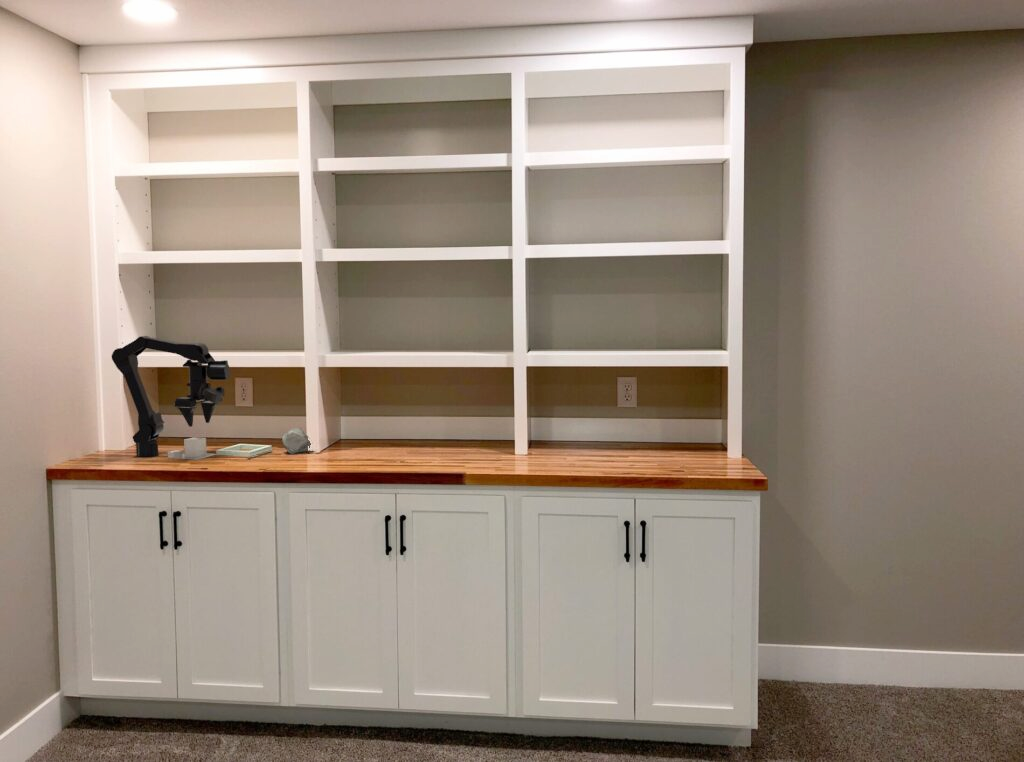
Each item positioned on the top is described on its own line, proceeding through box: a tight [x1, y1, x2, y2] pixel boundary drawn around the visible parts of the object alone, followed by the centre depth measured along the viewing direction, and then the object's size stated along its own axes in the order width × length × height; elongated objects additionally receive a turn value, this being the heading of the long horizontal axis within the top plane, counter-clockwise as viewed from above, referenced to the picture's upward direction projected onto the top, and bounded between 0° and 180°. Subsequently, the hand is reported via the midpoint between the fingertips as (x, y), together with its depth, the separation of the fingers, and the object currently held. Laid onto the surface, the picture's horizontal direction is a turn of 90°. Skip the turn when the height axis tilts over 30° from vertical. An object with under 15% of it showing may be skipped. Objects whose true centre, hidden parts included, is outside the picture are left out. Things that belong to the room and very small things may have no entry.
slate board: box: [167, 447, 216, 461], centre depth 292 cm, size 13×12×3 cm
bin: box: [215, 443, 273, 460], centre depth 298 cm, size 14×14×2 cm
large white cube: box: [183, 436, 207, 458], centre depth 291 cm, size 5×5×6 cm
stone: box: [281, 427, 311, 455], centre depth 302 cm, size 10×10×10 cm
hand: (199, 424), depth 292 cm, fingers open, 9 cm apart
